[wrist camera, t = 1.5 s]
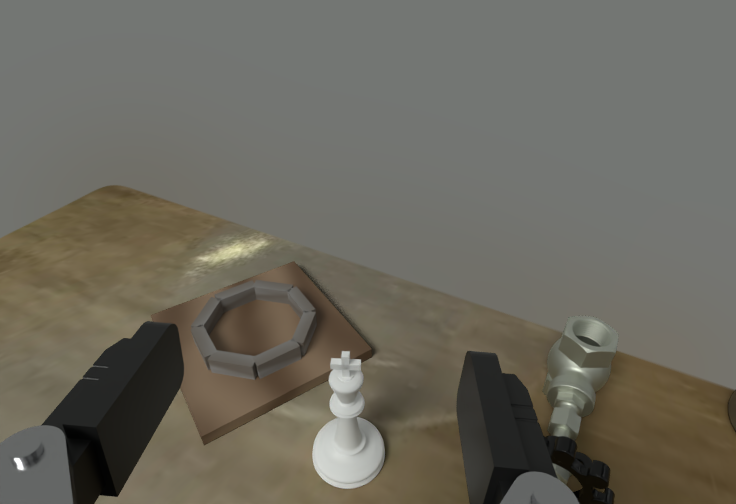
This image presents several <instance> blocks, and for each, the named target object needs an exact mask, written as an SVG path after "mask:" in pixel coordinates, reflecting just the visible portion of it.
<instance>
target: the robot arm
mask: <svg viewBox="0 0 736 504" xmlns="http://www.w3.org/2000/svg"><path fill="white" fill-rule="evenodd" d="M183 376H184V362H183V356H182V350H181V343H180V337H179V331H178V327H177V326H176V324H172V323H161V322H150V321H147V322H145V323H143V325H142V326H141V327H140V328H139V329H138V331H137V332H136V333H135V334H134V336H133V337H132V338H131V339H128V338H123V339H122V340H120V341H119V342H117V343H115V344H114V345H112V346H111V347H109V348H108V349H106V350H105V351H104V352H103V354H102V355H101V356H100V357H99V358H98V359H97V361H96V362H95V363H94V364H93V367H91V368H90V369H89V370H88V371H87V372H86V373H85V375H84V376H83V379H82V380H80V381H79V382H78V383H77V384H76V385H75V386H74V388H73V389H72V390H71V391H70V392H69V393H68V395H67V396H66V397H65V398H64V399H63V400H62V402H61V403H60V404H59V405H58V406H57V407H56V409H55V410H54V411H53V412H52V413H51V415H50V416H49V417H48V418H47V419H46V420H45V422H44V423H43V424H42V425H41V426H35V427H31V428H27V429H24V430H22V431H19V432H17V433H15V434H13V435H12V436H10V437H8V438H7V439H5V440H4V441H3V442H1V443H0V504H94V503H95V501H96V500H97V498H98V496H99V495H104V496H115V497H118V495H119V494H120V492H121V490H122V488H123V487H124V485H125V483H126V481H127V480H128V478H129V476H130V474H131V473H132V471H133V469H134V467H135V466H136V464H137V462H138V460H139V459H140V457H141V455H142V453H143V452H144V450H145V448H146V446H147V445H148V443H149V441H150V439H151V438H152V436H153V434H154V432H155V431H156V429H157V427H158V425H159V424H160V422H161V420H162V418H163V417H164V415H165V413H166V411H167V410H168V408H169V406H170V404H171V403H172V401H173V399H174V397H175V396H176V394H177V392H178V390H179V389H180V386H181V384H182V381H183ZM728 413H729V416H730V420H731V423H732V425H733V427H734V429H735V431H736V390H735V391H734V393H733V394H732V395H731V398H730V400H729V403H728ZM457 418H458V425H459V432H460V439H461V446H462V453H463V460H464V467H465V474H466V481H467V487H468V494H469V501H470V504H580V503H579V502H578V500H577V498H576V496H575V495H574V493H573V492H572V491H571V490H570V489H569V488H568V487H567V486H566V485H565V484H564V483H563V482H561V481H560V480H559V479H558V478H557V475H556V473H555V470H554V467H553V464H552V461H551V458H550V455H549V452H548V449H547V446H546V443H545V440H544V437H543V434H542V431H541V428H540V425H539V423H538V422H537V420H538V419H537V416H536V413H535V410H534V409H533V404H532V402H531V399H530V396H529V393H528V390H527V388H526V387H525V386H524V385H523V384H522V382H521V381H520V380H519V379H518V378H517V376H516V375H515V374H505V373H502V372H501V368H500V365H499V361H498V358H497V355H496V354H495V353H486V352H475V351H467V353H466V356H465V361H464V365H463V370H462V374H461V379H460V384H459V388H458V394H457Z"/></svg>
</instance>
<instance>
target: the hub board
mask: <svg viewBox="0 0 736 504" xmlns="http://www.w3.org/2000/svg"><path fill="white" fill-rule="evenodd" d="M151 318H152V320H153V322H161V323H172V324H176V326H177V327H178V331H179V337H180V343H181V350H182V356H183V362H184V376H183V381H182V384H181V386H180V388H181V391H182V393H183V395H184V398H185V400H186V403H187V405H188V407H189V410H190V412H191V415H192V417H193V420H194V422H195V424H196V427H197V429H198V432H199V434H200V436H201V439H202V441H203V444H204V445H205V444H207V443H209V442H211V441H213V440H215V439H217V438H219V437H221V436H222V435H224V434H226V433H228V432H230V431H232V430H234V429H236V428H238V427H240V426H241V425H243V424H245V423H247V422H249V421H251V420H253V419H255V418H257V417H259V416H261V415H262V414H264V413H266V412H268V411H270V410H272V409H274V408H276V407H278V406H280V405H281V404H283V403H285V402H287V401H289V400H291V399H293V398H295V397H297V396H299V395H300V394H302V393H304V392H306V391H308V390H310V389H312V388H314V387H316V386H318V385H320V384H321V383H323V382H325V381H327V380H329V375H330V373H331V371H332V370H333V369H331V368H330V363H331V358H340V359H341V355H342V351H350V359H361V362H363V361H365V360H367V359H369V358H371V357H372V349H371V347H370V346H369V345H368V344H367V343H366V342H365V341H364V340H363V338H362V337H361V336H360V335H359V334H358V333H357V332H356V330H355V329H354V328H353V327H352V326H351V325H350V324H349V323H348V321H347V320H346V319H345V318H344V317H343V316H342V315H341V314H340V312H339V311H338V310H337V309H336V308H335V307H334V306H333V305H332V303H331V302H330V301H329V300H328V299H327V298H326V297H325V296H324V294H323V293H322V292H321V291H320V290H319V289H318V288H317V287H316V285H315V284H314V283H313V282H312V281H311V280H310V279H309V278H308V276H307V275H306V274H305V273H304V272H303V271H302V270H301V269H300V267H299V266H298V265H297V264H296V263H295V262H291V263H288V264H286V265H283V266H280V267H278V268H275V269H272V270H270V271H267V272H264V273H262V274H259V275H256V276H254V277H251V278H248V279H246V280H243V281H240V282H238V283H235V284H232V285H230V286H227V287H224V288H222V289H219V290H216V291H214V292H211V293H208V294H206V295H203V296H200V297H198V298H195V299H192V300H190V301H187V302H184V303H182V304H179V305H176V306H174V307H171V308H168V309H166V310H163V311H161V312H158V313H155V314H153V315H151Z"/></svg>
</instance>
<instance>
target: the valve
mask: <svg viewBox="0 0 736 504" xmlns="http://www.w3.org/2000/svg"><path fill="white" fill-rule="evenodd" d="M618 336H619V335H618V333H617V332H616V331H615V330H614V329H613V328H611V327H610V326H609V325H608V324H606V323H605V322H603V321H602V320H600V319H598V318H595V317H591V316H574V317H569V318H568V321H567V323H566V326H565V328H564V331H563V334H562V338H560V339H559V340H558V341H557V342H556V343H555V344H554V345H553V346H552V348H551V349H550V352H549V354H548V359H547V366H548V373H547V377H546V380H545V383H544V387H543V390H542V392H543V393H544V394H545V395H546V396H547V400H548V402H549V404H550V405H551V406H552V407H553V408H554V410H553V413H552V415H551V418H550V422H549V426H548V430H547V431H548V432H549V433H550V434H551V435H552V436H547V437H544V436H543V437H544V440H545V443H546V446H547V449H548V452H549V455H550V458H551V461H552V464H553V467H554V470H555V473H556V475H557V478H558V479H559V480H560V481H561V482H563V483H564V484H565V485H566V484H567V482H568V478H569V477H570V476H571V475H572V474H573V475H574V476H575V477H576V478H577V479H578V480H579V482H580V483H581V485H582V489H580V490H578V491H575V492H573V493H574V495H575V496H576V498H577V500H578V502H579V503H580V504H614V497H615V495H614V492H613V491H612V490H611V489H609V488H608V485H609V478H610V468H609V467H608V465H606V464H605V463H603V462H601V461H597V460H593V463H592V461H591V459H590V458H589V457H588V456H586V455H585V454H583V453H580V452H576V450H577V444H576V442H575V440H576V438H577V436H578V433H579V428H580V423H581V417H585V416H588V415H589V414H591V413H592V411H593V409H594V405H595V399H596V394H595V392H596V391H598V390H600V389H601V388H602V387H603V386H604V385H605V384H606V382H607V380H608V378H609V376H610V372H611V361H612V359H613V357H614V355H615V353H616V349H617V344H618ZM595 488H598V489H605V490H604V492H603V493H602V492H599V491H597V490H596V489H595Z"/></svg>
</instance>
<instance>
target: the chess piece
mask: <svg viewBox="0 0 736 504" xmlns="http://www.w3.org/2000/svg"><path fill="white" fill-rule="evenodd" d="M330 368H331V369H333V370H332V371H331V373H330V375H329V384H330V386H331V388H332V390H333V391H334V392H335V393H334V394H333V395H332V397H331V399H330V409H331V411H332V413H333V414H334V415H335V416H337V417H339V418H336V419H334V420H332V421H330V422H328V423H327V424H326V425H325V426H324V427H323V428H322V429H321V430H320V431H319V433H318V434H317V436H316V438H315V441H314V445H313V453H312V458H313V464H314V467H315V469H316V471H317V473H318V474H319V475H320V477H321V478H322V479H323V480H324V481H326V482H327V483H329V484H330V485H332V486H335V487H338V488H344V489H351V488H357V487H360V486H363V485H365V484H367V483H369V482H370V481H371V480H373V479H374V478H375V477H376V476H377V474H378V473H379V472H380V470H381V468H382V466H383V463H384V459H385V447H384V443H383V439H382V436H381V434H380V432H379V431H378V429H377V428H376V427H375V426H374V425H373V424H372V423H370V422H369V421H367V420H365V419H363V418H360V417H357V416H358V415H359V414H360V413H361V412H362V411H363V409H364V405H365V401H364V398H363V396H362V394H361V393H360V392H359V390H360V388H361V387H362V384H363V380H364V377H363V373H362V371H361V359H350V351H342V355H341V359H340V358H331V363H330Z"/></svg>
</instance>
